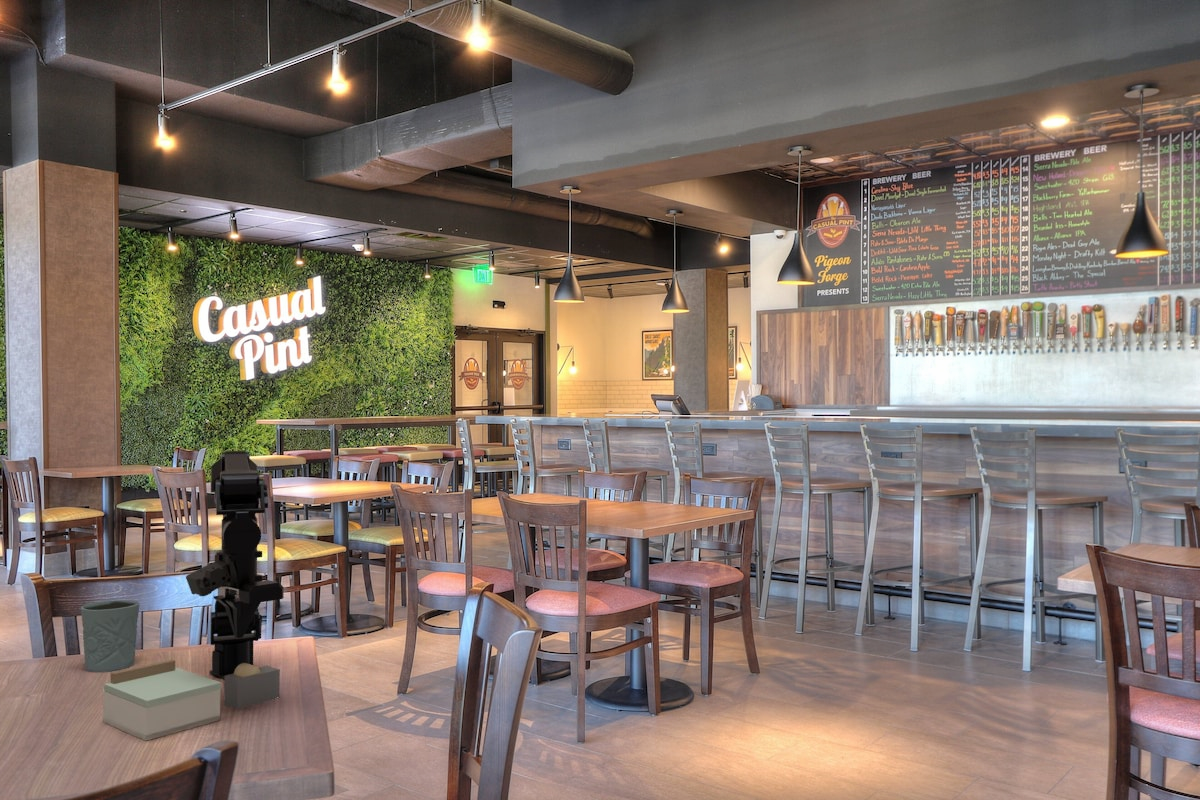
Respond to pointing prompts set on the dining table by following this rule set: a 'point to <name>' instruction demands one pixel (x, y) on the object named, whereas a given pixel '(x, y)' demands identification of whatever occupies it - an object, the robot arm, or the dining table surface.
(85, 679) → the dining table surface
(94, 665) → the grey-green cup
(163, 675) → the lid
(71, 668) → the dining table surface
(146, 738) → the box
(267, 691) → the tape dispenser
